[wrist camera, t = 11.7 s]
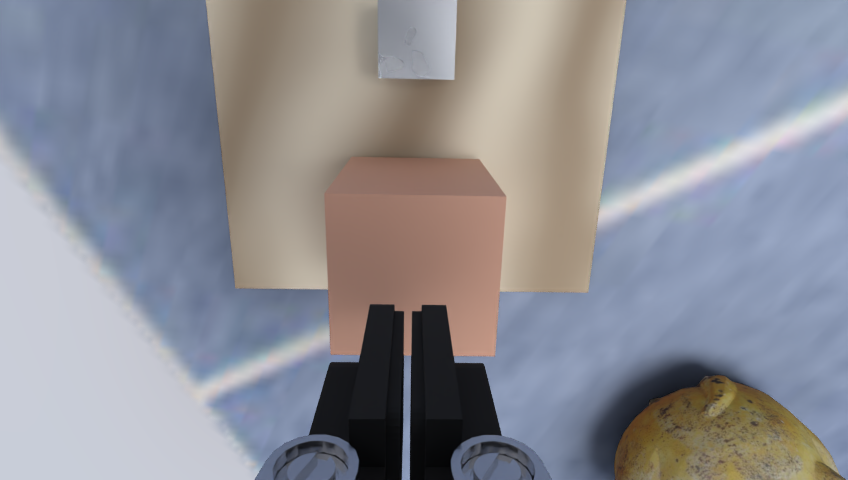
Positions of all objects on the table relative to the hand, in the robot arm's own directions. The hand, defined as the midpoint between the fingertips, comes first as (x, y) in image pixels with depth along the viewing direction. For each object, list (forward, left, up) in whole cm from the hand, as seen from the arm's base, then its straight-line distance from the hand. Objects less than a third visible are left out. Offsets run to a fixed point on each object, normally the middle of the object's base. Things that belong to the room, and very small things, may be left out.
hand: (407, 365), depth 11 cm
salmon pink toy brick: (0, 0, -11) cm, 11 cm away
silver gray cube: (0, -7, -12) cm, 14 cm away
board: (0, -3, -12) cm, 12 cm away
